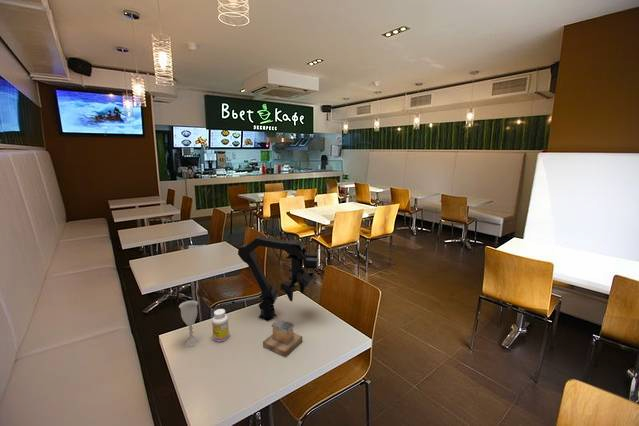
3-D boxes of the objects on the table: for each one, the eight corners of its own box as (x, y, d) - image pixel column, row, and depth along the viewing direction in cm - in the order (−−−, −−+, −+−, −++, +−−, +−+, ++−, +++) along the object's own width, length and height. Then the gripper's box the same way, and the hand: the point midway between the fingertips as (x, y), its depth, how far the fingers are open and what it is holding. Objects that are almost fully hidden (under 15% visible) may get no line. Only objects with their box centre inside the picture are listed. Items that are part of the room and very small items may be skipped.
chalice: (183, 349, 123) (179, 310, 119) (182, 340, 129) (178, 302, 125) (201, 344, 126) (198, 306, 122) (200, 335, 132) (197, 299, 128)
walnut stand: (263, 347, 125) (262, 341, 125) (280, 332, 135) (280, 327, 135) (285, 357, 119) (285, 351, 119) (302, 341, 129) (302, 336, 129)
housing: (286, 345, 122) (286, 330, 121) (271, 339, 127) (271, 324, 125) (293, 339, 127) (293, 324, 125) (279, 333, 131) (279, 318, 129)
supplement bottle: (210, 337, 131) (208, 311, 128) (224, 331, 136) (222, 305, 133) (218, 344, 126) (216, 317, 124) (231, 337, 131) (230, 311, 128)
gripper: (299, 277, 128) (299, 310, 131) (321, 264, 144) (321, 293, 147) (279, 272, 134) (279, 303, 137) (302, 259, 149) (302, 288, 153)
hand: (296, 297), depth 143 cm, fingers open, 9 cm apart
